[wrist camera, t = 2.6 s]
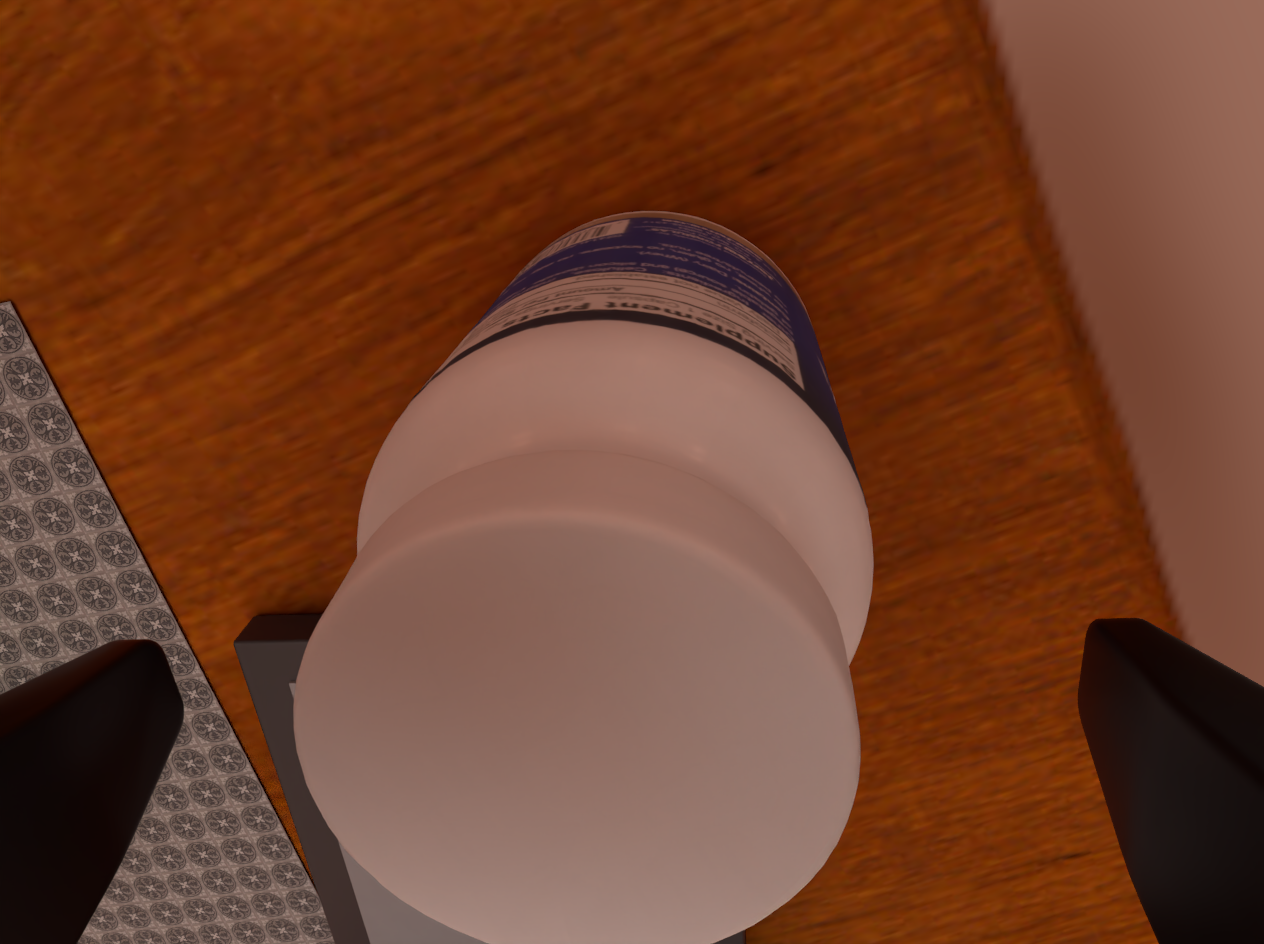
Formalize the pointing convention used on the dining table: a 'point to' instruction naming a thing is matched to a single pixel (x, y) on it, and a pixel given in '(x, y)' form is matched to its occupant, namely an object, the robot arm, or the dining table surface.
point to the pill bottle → (603, 607)
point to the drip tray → (350, 896)
